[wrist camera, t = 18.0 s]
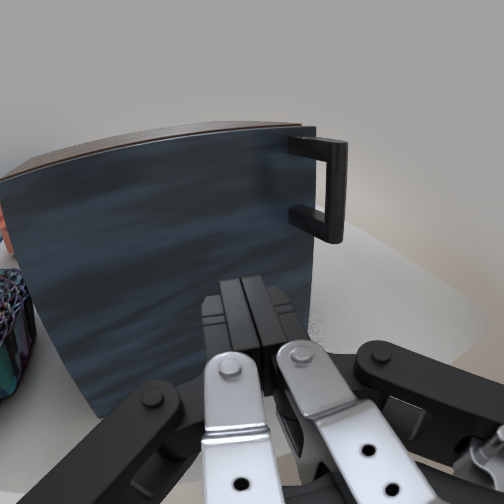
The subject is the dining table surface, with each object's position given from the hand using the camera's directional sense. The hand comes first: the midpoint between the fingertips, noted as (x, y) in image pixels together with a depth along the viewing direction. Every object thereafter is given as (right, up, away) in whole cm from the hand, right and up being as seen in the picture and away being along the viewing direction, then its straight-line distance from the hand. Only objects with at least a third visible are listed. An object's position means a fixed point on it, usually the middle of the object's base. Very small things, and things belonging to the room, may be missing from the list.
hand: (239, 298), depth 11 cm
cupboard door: (-3, -13, +17) cm, 22 cm away
